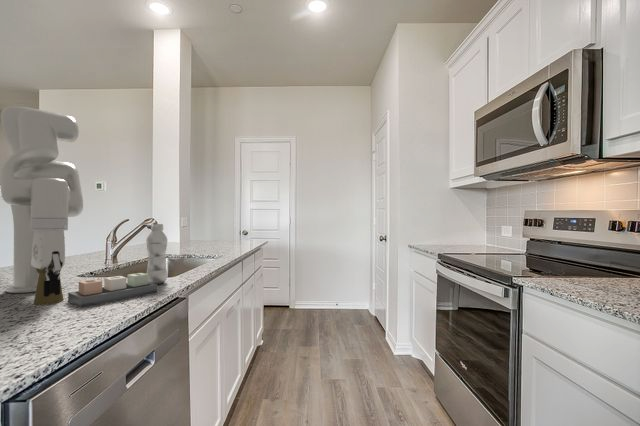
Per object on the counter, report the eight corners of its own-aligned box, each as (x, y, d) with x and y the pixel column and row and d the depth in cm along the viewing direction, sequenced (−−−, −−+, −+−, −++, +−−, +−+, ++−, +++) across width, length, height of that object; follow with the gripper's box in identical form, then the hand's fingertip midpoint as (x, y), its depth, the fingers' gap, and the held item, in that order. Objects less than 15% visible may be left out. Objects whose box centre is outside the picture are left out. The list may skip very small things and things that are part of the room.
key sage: (127, 284, 94) (127, 274, 94) (141, 282, 97) (141, 272, 97) (133, 286, 91) (133, 276, 91) (147, 284, 94) (148, 273, 94)
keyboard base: (68, 302, 84) (68, 292, 84) (142, 288, 99) (142, 280, 99) (81, 308, 79) (81, 298, 79) (157, 293, 94) (157, 284, 94)
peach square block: (78, 292, 84) (78, 281, 84) (96, 290, 87) (96, 278, 87) (84, 295, 81) (84, 283, 81) (102, 292, 85) (102, 280, 85)
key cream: (104, 288, 89) (104, 277, 89) (119, 286, 92) (120, 275, 92) (110, 290, 86) (110, 279, 86) (126, 288, 90) (126, 277, 90)
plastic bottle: (144, 286, 102) (144, 224, 102) (147, 282, 108) (147, 224, 108) (166, 285, 104) (166, 224, 104) (168, 281, 110) (168, 223, 110)
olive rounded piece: (46, 306, 80) (46, 262, 80) (27, 304, 81) (27, 261, 81) (69, 299, 86) (69, 259, 86) (51, 298, 87) (51, 258, 87)
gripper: (22, 224, 86) (21, 292, 86) (41, 226, 76) (40, 302, 76) (57, 223, 92) (56, 287, 92) (78, 225, 82) (77, 296, 82)
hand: (49, 293), depth 84 cm, fingers closed on olive rounded piece, 4 cm apart
